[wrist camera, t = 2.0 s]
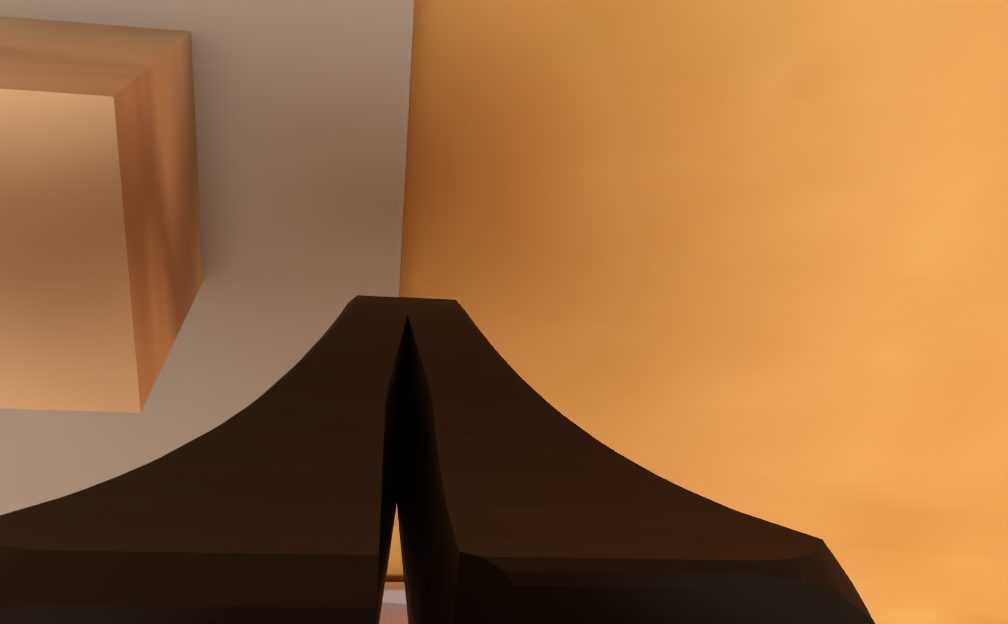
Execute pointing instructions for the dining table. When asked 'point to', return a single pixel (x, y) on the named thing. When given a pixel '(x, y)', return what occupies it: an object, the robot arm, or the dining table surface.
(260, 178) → the trap board
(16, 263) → the block
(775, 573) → the robot arm
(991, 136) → the dining table surface
